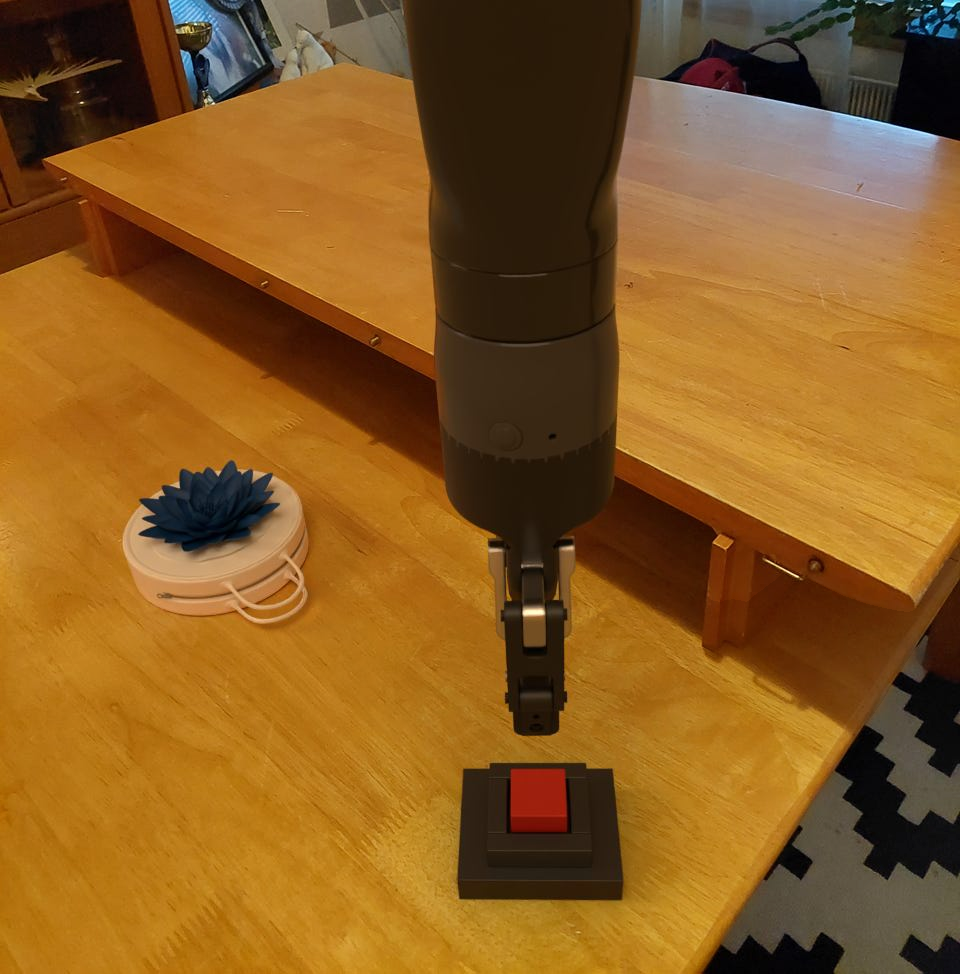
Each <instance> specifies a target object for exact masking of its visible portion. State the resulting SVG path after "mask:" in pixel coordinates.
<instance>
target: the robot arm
mask: <svg viewBox="0 0 960 974" xmlns="http://www.w3.org/2000/svg"><path fill="white" fill-rule="evenodd" d="M401 1H402V3H401V4H402V13H403V21H404V28H405V37H406V44H407V45H406V46H407V51H408V52H407V53H408V60H409V66H410V73H411V80H412V86H413V93H414V99H415V105H416V111H417V116H418V117H417V118H418V122H419V128H420V133H421V140H422V145H423V146H422V147H423V150H424V151H423V152H424V157H425V161H426V167H427V171H428V176H429V182H428V194H427V195H428V198H427V199H428V200H427V220H428V221H427V224H428V243H429V253H430V265H431V266H430V267H431V276H432V277H431V278H432V287H433V297H434V307H435V308H434V310H435V311H434V315H435V326H434V327H435V328H434V340H433V341H434V342H433V366H434V367H433V369H434V378H435V390H436V401H437V410H438V419H439V421H438V422H439V433H440V443H441V453H442V464H443V475H444V484H445V493H446V495H447V499H448V500H449V502H450V504H451V506H452V507H453V509H455V511H456V512H457V513H458V514H459V515H460V517H462V518H463V519H464V520H465V521H466V522H468V523H470V524H471V525H473V526H475V527H477V528H479V529H481V530H483V531H486V532H489V533H490V534H492V535H495V537H488V538H487V563H488V564H487V565H488V568H487V569H488V572H489V574H490V576H491V577H492V578H493V580H494V609H495V610H494V611H495V614H494V615H495V632H496V635H497V637H498V638H499V639H501V640H503V641H504V643H505V662H506V663H505V664H506V670H505V672H504V677H505V678H504V679H505V681H504V682H505V683H506V684H507V686H506V687H507V691H505V692H504V704H505V705H507V706H508V707H507V708H508V713H512V723H513V724H512V725H513V732H514V733H515V734H516V735H519V736H521V737H546V736H547V737H548V736H549V737H551V736H552V735H555V734H557V733H559V730H560V712H565V703H566V704H567V703H568V690H565V681H566V670H565V639H567V638H568V637H570V635H571V634H572V631H573V625H572V624H573V622H572V620H573V618H572V590H571V577H572V575H573V574H574V573H575V571H576V543H575V542H576V541H575V536H574V535H567V534H568V533H571V532H572V531H574V530H575V529H578V528H580V527H582V526H583V525H585V524H587V523H589V522H590V521H592V520H593V519H595V517H597V516H598V515H599V514H600V513H601V512H602V511H603V510H604V508H606V506H607V504H608V503H609V501H610V500H611V497H612V495H613V491H614V487H615V474H616V454H617V453H616V452H617V450H616V449H617V429H618V427H617V426H618V406H619V404H618V403H619V381H620V341H619V332H618V324H617V315H616V314H617V311H616V310H617V308H616V297H617V296H616V295H617V270H618V267H617V266H618V245H619V244H618V243H619V203H618V202H619V201H618V173H619V169H620V163H621V158H622V153H623V149H624V148H623V147H624V143H625V139H626V138H625V137H626V132H627V125H628V121H629V120H628V119H629V113H630V106H631V100H632V93H633V88H634V82H635V81H634V80H635V74H636V65H637V58H638V49H639V40H640V32H641V31H640V30H641V18H642V3H643V2H642V1H643V0H401ZM557 588H558V599H555V597H556V595H557ZM507 589H508V593H507ZM507 594H508V596H509V597H510V600H508V598H507V597H508V596H507Z"/></svg>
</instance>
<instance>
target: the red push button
mask: <svg viewBox="0 0 960 974" xmlns="http://www.w3.org/2000/svg"><path fill="white" fill-rule="evenodd" d="M587 766H588V765H587V763H586V762H489V765H488V768H463V769H462V782H461V783H462V786H461V804H460V823H459V839H458V840H459V841H458V859H457V876H456V877H457V878H456V881H457V891H458V898H459V900H526V901H527V900H529V901H530V900H531V901H532V900H533V901H536V900H537V901H540V900H541V901H542V900H544V901H623V891H624V882H625V880H624V872H623V861H622V860H623V859H622V849H621V839H620V829H619V821H618V820H619V818H618V809H617V799H616V798H617V797H616V788H615V779H614V778H615V777H614V769H613V768H611V767H610V768H607V767H606V768H604V767H603V768H599V767H598V768H597V767H596V768H595V767H593V768H587ZM511 769H565V779H566V800H567V832H512V831H511Z"/></svg>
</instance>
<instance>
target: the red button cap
mask: <svg viewBox="0 0 960 974" xmlns="http://www.w3.org/2000/svg"><path fill="white" fill-rule="evenodd" d="M511 831H512V832H567V800H566V779H565V769H511Z"/></svg>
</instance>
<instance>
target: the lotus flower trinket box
mask: <svg viewBox="0 0 960 974" xmlns="http://www.w3.org/2000/svg"><path fill="white" fill-rule="evenodd" d="M138 501H139V503H140V505H139V507H138V508H137V509H136V510H135V511H134V513H133V514H132V515H131V517H130V518H129V519H128V521H127V524H126V525H125V528H124V530H123V534H122V542H121V543H122V549H123V554H124V557H125V559H126V562H127V564H128V567H129V570H130V572H131V575H132V579H133V580H134V583H135V586H136V588H137V590H138V592H139V593H140V595H141V596H142V597H143V598H144V599H145V600H146V601H148V602H149V603H150V604H152V605H153V606H155V607H157V608H158V609H161V610H164V611H166V612H170V613H174V614H178V615H184V616H195V617H196V616H197V617H201V616H202V617H203V616H205V617H206V616H214V615H221V614H222V615H223V614H227V613H231V612H235V611H237V612H238V613H239V614H240V615H241V616H242V617H244V618H245V619H246V620H248V621H250V622H251V623H254V624H259V625H261V624H262V625H267V624H273V623H278V622H280V621H284V620H286V619H288V618H291V617H292V616H294V615H295V614H296V613H298V612H299V611H300V610H301V609H302V608H303V607H304V606H305V604H306V602H307V601H308V598H309V597H308V596H309V593H308V590H307V588H306V586H305V577H304V573H303V571H302V570H301V568H302V566H303V565H304V562H305V560H306V558H307V555H308V552H309V547H310V546H309V545H310V540H309V533H308V528H307V524H306V519H305V518H306V517H305V514H304V509H303V504H302V500H301V498H300V496H299V495H298V493H297V491H296V490H295V489H294V488H293V486H291V485H290V484H289V483H287V482H286V481H284V480H283V479H281V478H279V477H278V476H275V475H274V472H268V473H267V472H263V471H259V470H254V469H252V468H249V469H241V468H240V469H239V468H238V467H237V464H236V462H235V461H234V460H233V459H230V460H229V461H227V462H226V464H225V465H224V466H223V468H222V469H220V470H219V469H218V470H214V469H213V468H211V467H210V466H206V467H205V469H204V470H203V472H200V471H196V472H194V473H193V472H192V471H190V470H188V469H187V468H181V469H180V470H179V475H178V481H176V482H173V483H171V484H170V485H168V484H162V485H161V490H159V491H157V492H155V493H154V494H153V495H151V496H150V497H142V498H139V499H138ZM296 574H297V575H298V578H299V579H298V578H297V577H296V576H295V575H296ZM290 581H292V582H294V583H295V584H296V585H297V588H296V590H295V591H294V592H293V593H292V594H291V595H290V596H289V597H288V598H287V599H285V600H283V601H281V602H277V603H274V604H273V603H272V604H266V605H262V604H258V603H260V602H261V601H263V600H265V599H267V598H269V597H271V596H272V595H274V594H275V593H276V592H278V591H280V590H281V589H282V588H283V587H284V586H286V585H287V584H288V583H289V582H290ZM301 592H302V597H301V600H300V602H299V603H298V604H297V605H296V606H295V607H294V608H292V610H290V611H289V612H286V613H284V614H282V615H278V616H276V617H271V618H270V617H269V618H258V617H254V616H252V615H250V614H248V613H247V612H246V611H244V610H243V609H245V608H250V609H252V610H257V611H271V610H272V611H273V610H276V609H280V608H282V607H284V606H288V605H289V604H290V603H291V602H293V601H294V600H295V599H296V598H297V597H299V595H300V594H301Z"/></svg>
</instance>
